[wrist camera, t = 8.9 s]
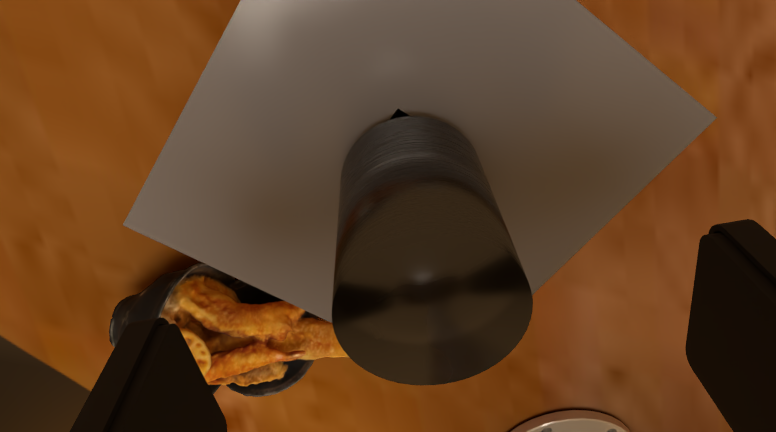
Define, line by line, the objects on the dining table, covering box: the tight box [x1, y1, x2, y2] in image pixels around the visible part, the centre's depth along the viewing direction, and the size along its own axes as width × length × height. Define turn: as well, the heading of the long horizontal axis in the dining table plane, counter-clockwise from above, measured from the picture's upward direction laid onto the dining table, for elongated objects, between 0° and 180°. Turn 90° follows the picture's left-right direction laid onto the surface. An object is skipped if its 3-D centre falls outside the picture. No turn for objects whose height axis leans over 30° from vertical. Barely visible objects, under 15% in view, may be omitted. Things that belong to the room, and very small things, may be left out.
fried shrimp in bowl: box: [109, 263, 349, 397], centre depth 35 cm, size 9×11×18 cm
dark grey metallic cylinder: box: [332, 108, 533, 385], centre depth 17 cm, size 8×8×17 cm
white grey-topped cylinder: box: [123, 0, 717, 323], centre depth 22 cm, size 14×11×17 cm
